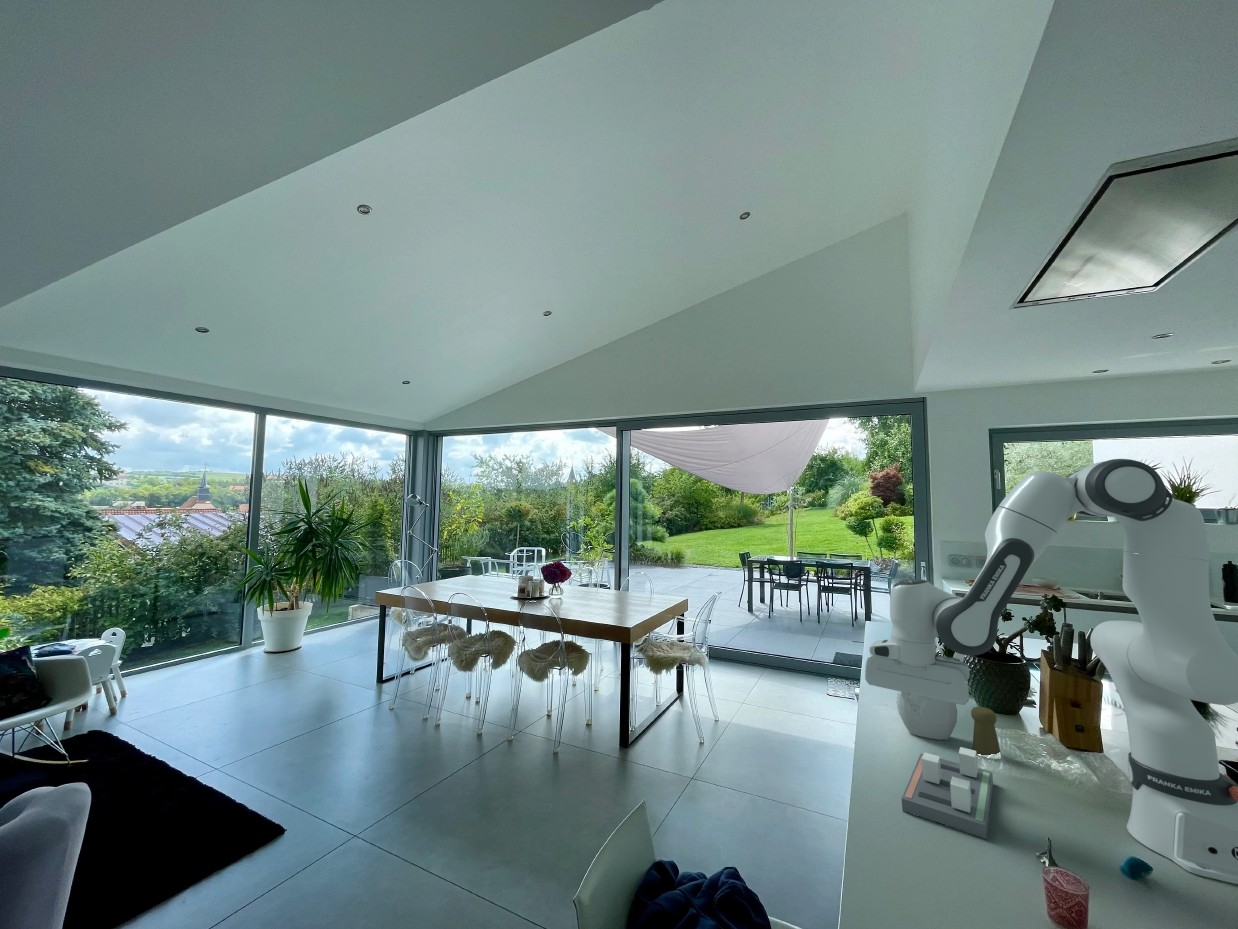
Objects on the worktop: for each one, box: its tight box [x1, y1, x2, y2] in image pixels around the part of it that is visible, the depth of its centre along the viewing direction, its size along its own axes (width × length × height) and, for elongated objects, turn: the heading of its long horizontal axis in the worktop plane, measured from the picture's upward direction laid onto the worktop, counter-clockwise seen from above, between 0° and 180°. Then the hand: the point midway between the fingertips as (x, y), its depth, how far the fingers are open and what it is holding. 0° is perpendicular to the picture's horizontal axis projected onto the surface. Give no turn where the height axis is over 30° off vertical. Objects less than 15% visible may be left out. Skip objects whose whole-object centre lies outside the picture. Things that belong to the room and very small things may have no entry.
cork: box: [970, 706, 1001, 755], centre depth 125 cm, size 6×6×11 cm
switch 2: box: [950, 776, 972, 813], centre depth 99 cm, size 3×4×4 cm
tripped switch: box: [922, 752, 941, 784], centre depth 109 cm, size 3×4×4 cm
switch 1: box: [958, 746, 979, 778], centre depth 111 cm, size 3×4×4 cm
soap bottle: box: [895, 691, 958, 741], centre depth 136 cm, size 14×9×26 cm, turn 60°
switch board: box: [901, 753, 994, 840], centre depth 106 cm, size 14×24×3 cm, turn 140°
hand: (915, 713), depth 111 cm, fingers closed
